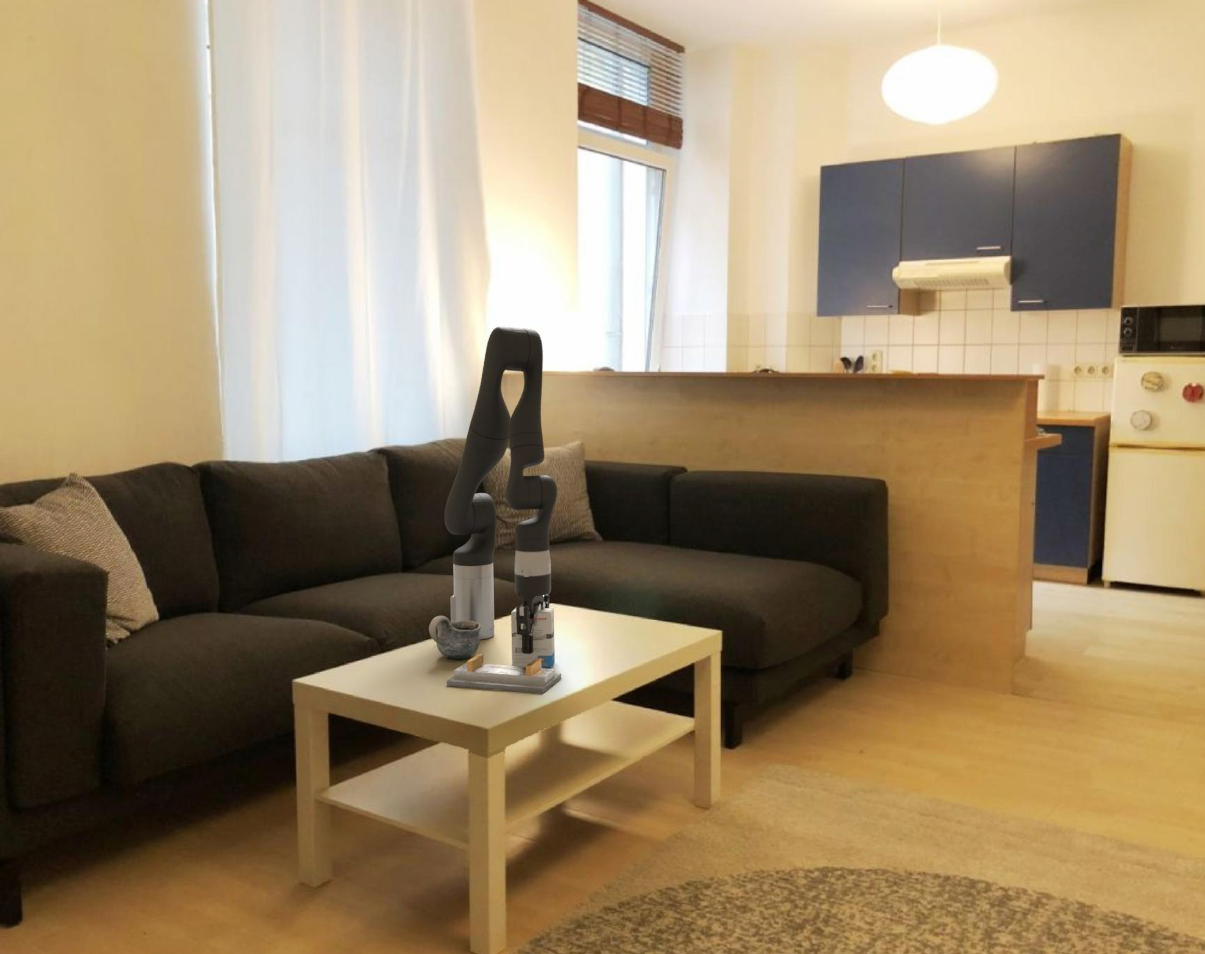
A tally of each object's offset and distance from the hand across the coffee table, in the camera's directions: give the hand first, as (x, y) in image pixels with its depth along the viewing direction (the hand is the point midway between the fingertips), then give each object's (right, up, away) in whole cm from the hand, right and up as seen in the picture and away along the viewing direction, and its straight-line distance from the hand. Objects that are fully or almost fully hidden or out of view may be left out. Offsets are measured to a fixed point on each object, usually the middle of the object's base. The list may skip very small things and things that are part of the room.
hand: (533, 648), depth 233 cm
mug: (-17, -3, +5) cm, 18 cm away
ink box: (0, -4, 0) cm, 4 cm away
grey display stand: (-5, -5, -13) cm, 14 cm away
